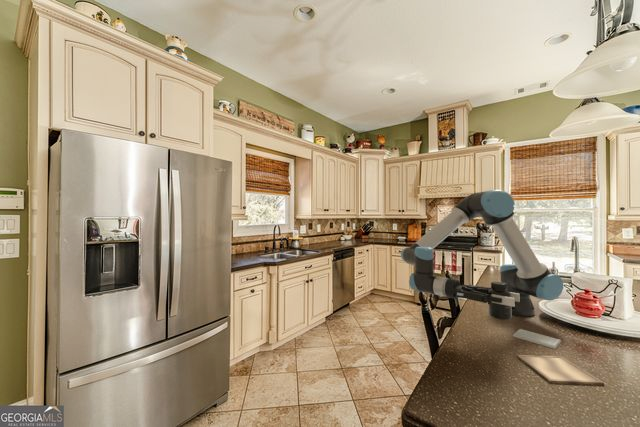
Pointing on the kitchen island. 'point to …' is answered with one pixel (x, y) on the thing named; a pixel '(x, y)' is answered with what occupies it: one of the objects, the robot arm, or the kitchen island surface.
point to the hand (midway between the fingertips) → (516, 300)
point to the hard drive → (537, 338)
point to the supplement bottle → (499, 309)
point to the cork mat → (559, 370)
